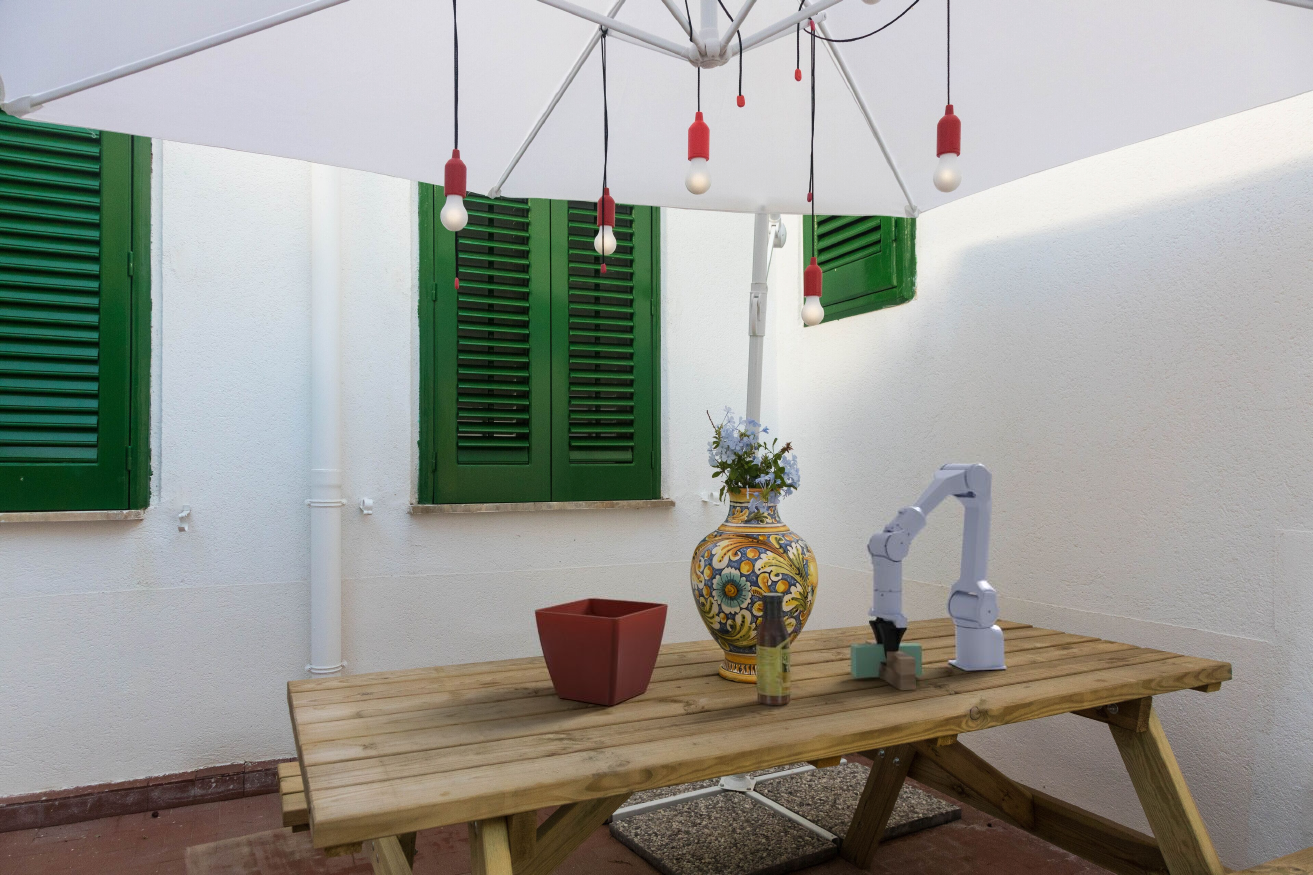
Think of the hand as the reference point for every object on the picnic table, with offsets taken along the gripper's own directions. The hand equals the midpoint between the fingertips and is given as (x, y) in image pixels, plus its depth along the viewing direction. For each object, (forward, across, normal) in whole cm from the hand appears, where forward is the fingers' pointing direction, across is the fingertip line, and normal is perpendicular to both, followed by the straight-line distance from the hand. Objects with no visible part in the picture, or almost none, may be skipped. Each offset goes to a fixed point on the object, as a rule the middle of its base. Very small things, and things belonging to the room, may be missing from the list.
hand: (887, 657), depth 172 cm
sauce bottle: (+5, +13, -28) cm, 31 cm away
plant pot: (+6, +3, -58) cm, 59 cm away
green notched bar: (+4, 0, 0) cm, 4 cm away
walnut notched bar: (+4, 0, 0) cm, 4 cm away
